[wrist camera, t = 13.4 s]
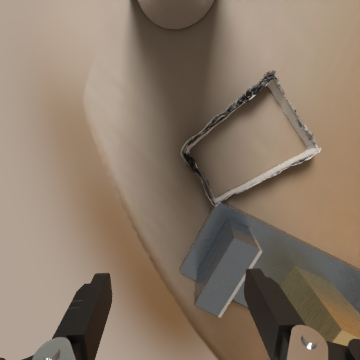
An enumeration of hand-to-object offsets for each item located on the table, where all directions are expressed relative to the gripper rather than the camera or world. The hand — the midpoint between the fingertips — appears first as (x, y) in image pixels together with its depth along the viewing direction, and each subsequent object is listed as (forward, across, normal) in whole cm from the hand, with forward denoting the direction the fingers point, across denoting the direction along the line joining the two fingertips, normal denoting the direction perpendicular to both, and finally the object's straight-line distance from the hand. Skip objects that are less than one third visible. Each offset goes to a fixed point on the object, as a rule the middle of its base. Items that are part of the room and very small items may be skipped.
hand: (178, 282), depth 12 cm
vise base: (+11, -15, +12) cm, 22 cm away
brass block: (+10, -16, +11) cm, 22 cm away
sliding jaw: (+12, -6, +7) cm, 15 cm away
